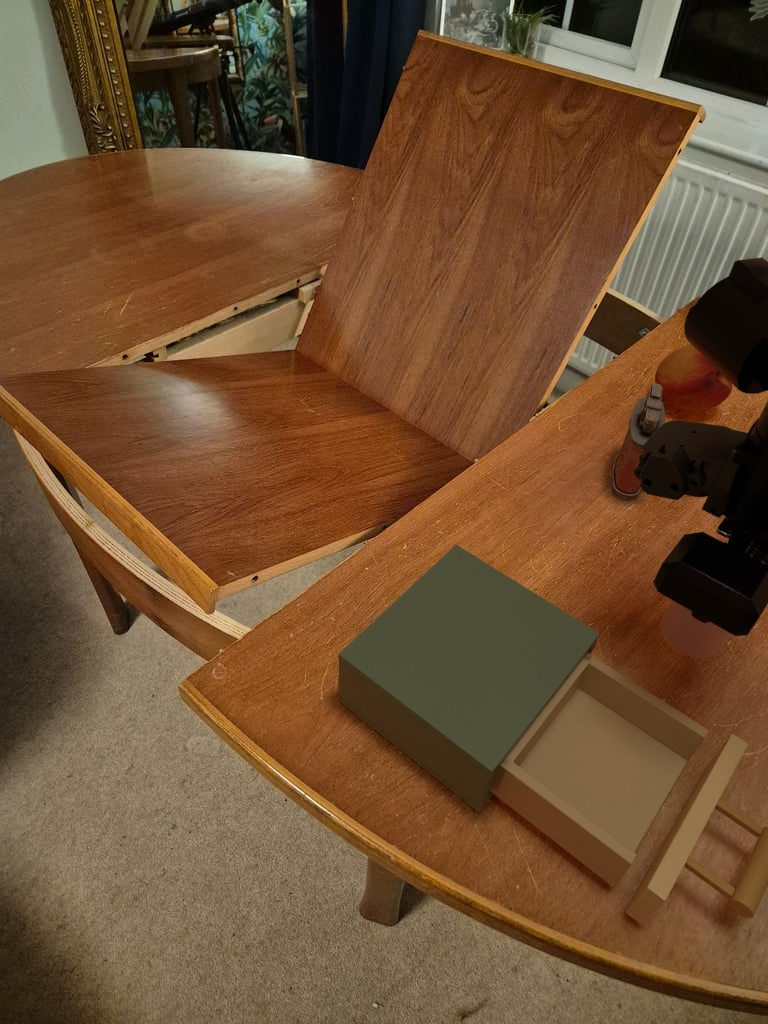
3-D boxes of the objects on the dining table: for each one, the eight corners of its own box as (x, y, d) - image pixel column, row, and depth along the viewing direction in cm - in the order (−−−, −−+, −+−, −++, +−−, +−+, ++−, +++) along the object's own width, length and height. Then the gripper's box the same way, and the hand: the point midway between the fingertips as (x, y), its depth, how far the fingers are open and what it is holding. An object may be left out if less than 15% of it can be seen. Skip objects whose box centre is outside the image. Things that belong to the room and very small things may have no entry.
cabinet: (580, 680, 61) (600, 633, 56) (478, 813, 53) (492, 771, 48) (447, 593, 67) (456, 544, 62) (338, 700, 59) (338, 653, 54)
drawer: (787, 816, 53) (818, 787, 49) (712, 981, 45) (743, 960, 42) (575, 677, 60) (589, 643, 57) (481, 799, 53) (491, 768, 49)
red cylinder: (732, 631, 60) (767, 575, 55) (708, 669, 57) (743, 614, 52) (676, 599, 62) (706, 542, 57) (650, 634, 59) (679, 578, 54)
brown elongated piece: (639, 504, 76) (671, 428, 69) (606, 496, 77) (634, 420, 70) (646, 456, 82) (676, 381, 74) (615, 449, 82) (641, 373, 75)
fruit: (675, 432, 85) (700, 374, 79) (634, 392, 90) (654, 334, 84) (730, 418, 87) (757, 361, 81) (686, 380, 92) (709, 323, 87)
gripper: (734, 329, 54) (666, 486, 65) (613, 453, 43) (557, 614, 54) (898, 392, 49) (794, 550, 60) (805, 549, 38) (701, 705, 50)
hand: (712, 598), depth 56 cm, fingers closed on red cylinder, 5 cm apart
